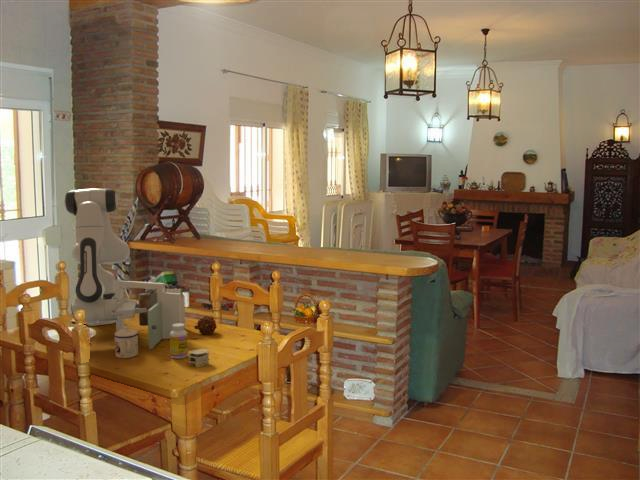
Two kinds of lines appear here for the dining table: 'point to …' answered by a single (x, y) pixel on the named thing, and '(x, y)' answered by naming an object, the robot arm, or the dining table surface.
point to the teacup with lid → (126, 343)
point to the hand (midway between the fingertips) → (147, 308)
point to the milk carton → (181, 302)
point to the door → (155, 324)
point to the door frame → (168, 300)
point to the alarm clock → (153, 296)
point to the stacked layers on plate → (199, 357)
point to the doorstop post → (144, 302)
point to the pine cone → (206, 325)
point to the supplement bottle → (178, 341)
